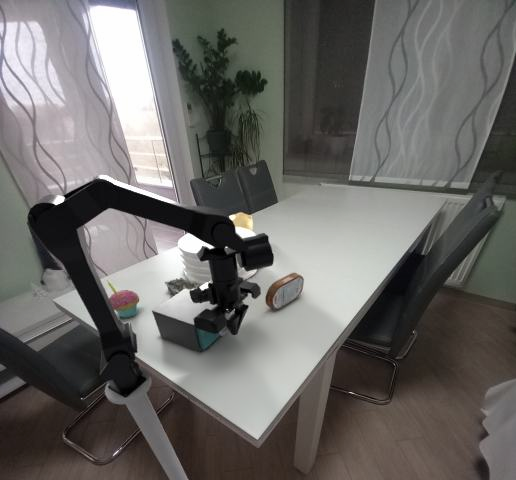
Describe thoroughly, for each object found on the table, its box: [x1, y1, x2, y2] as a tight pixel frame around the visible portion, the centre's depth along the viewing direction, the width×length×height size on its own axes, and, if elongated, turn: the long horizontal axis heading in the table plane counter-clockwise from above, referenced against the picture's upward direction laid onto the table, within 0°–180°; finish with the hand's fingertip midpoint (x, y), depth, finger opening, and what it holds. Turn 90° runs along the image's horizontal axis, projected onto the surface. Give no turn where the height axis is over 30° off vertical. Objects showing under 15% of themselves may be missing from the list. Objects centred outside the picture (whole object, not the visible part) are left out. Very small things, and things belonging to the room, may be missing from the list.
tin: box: [264, 272, 305, 310], centre depth 81 cm, size 15×3×8 cm, turn 134°
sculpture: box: [228, 211, 254, 231], centre depth 128 cm, size 12×12×11 cm
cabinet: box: [151, 289, 218, 353], centre depth 72 cm, size 14×13×9 cm
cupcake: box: [106, 279, 140, 318], centre depth 80 cm, size 9×8×12 cm
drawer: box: [196, 327, 230, 351], centre depth 71 cm, size 17×11×7 cm
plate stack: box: [177, 227, 258, 286], centre depth 102 cm, size 28×28×12 cm
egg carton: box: [164, 277, 199, 296], centre depth 91 cm, size 11×8×4 cm
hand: (234, 334), depth 67 cm, fingers closed
